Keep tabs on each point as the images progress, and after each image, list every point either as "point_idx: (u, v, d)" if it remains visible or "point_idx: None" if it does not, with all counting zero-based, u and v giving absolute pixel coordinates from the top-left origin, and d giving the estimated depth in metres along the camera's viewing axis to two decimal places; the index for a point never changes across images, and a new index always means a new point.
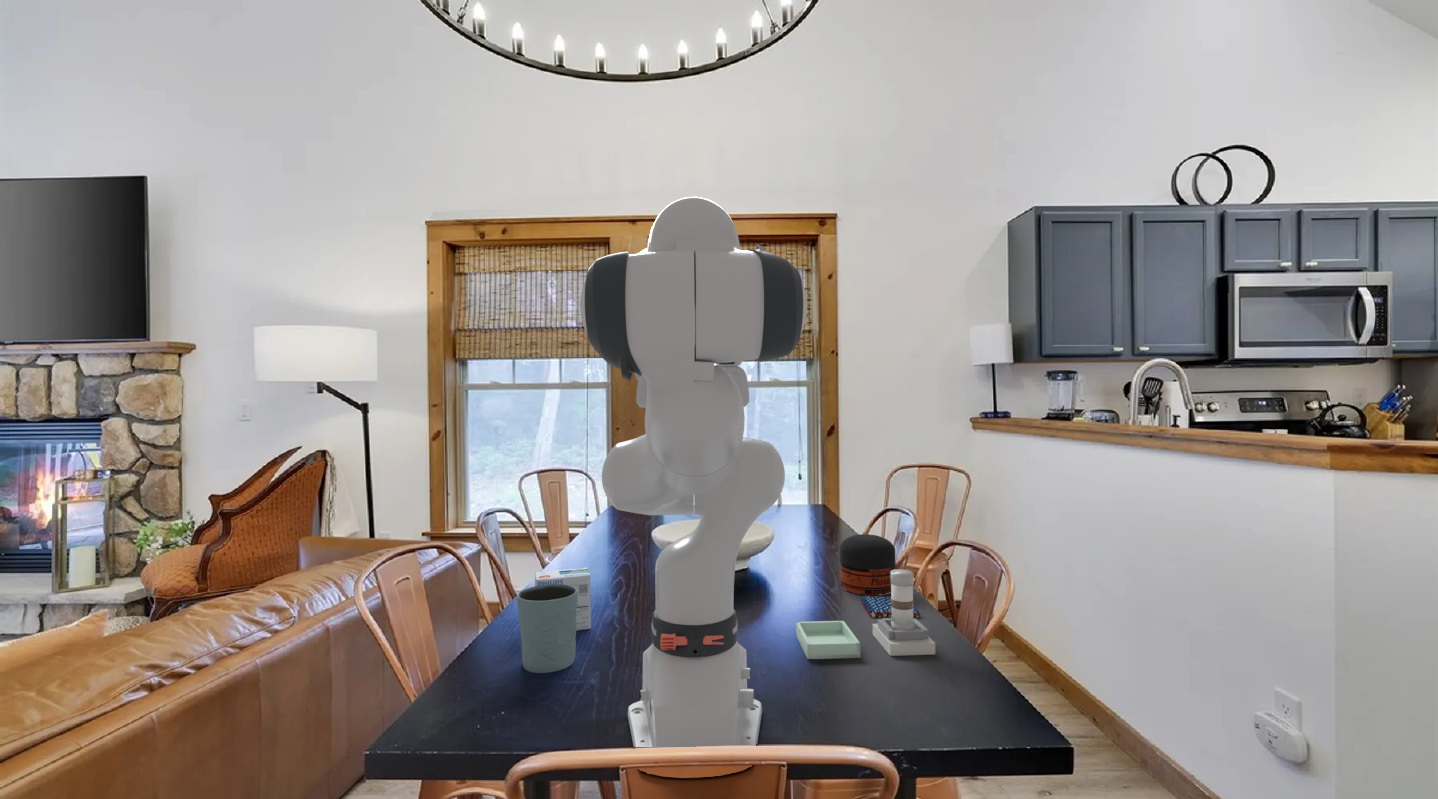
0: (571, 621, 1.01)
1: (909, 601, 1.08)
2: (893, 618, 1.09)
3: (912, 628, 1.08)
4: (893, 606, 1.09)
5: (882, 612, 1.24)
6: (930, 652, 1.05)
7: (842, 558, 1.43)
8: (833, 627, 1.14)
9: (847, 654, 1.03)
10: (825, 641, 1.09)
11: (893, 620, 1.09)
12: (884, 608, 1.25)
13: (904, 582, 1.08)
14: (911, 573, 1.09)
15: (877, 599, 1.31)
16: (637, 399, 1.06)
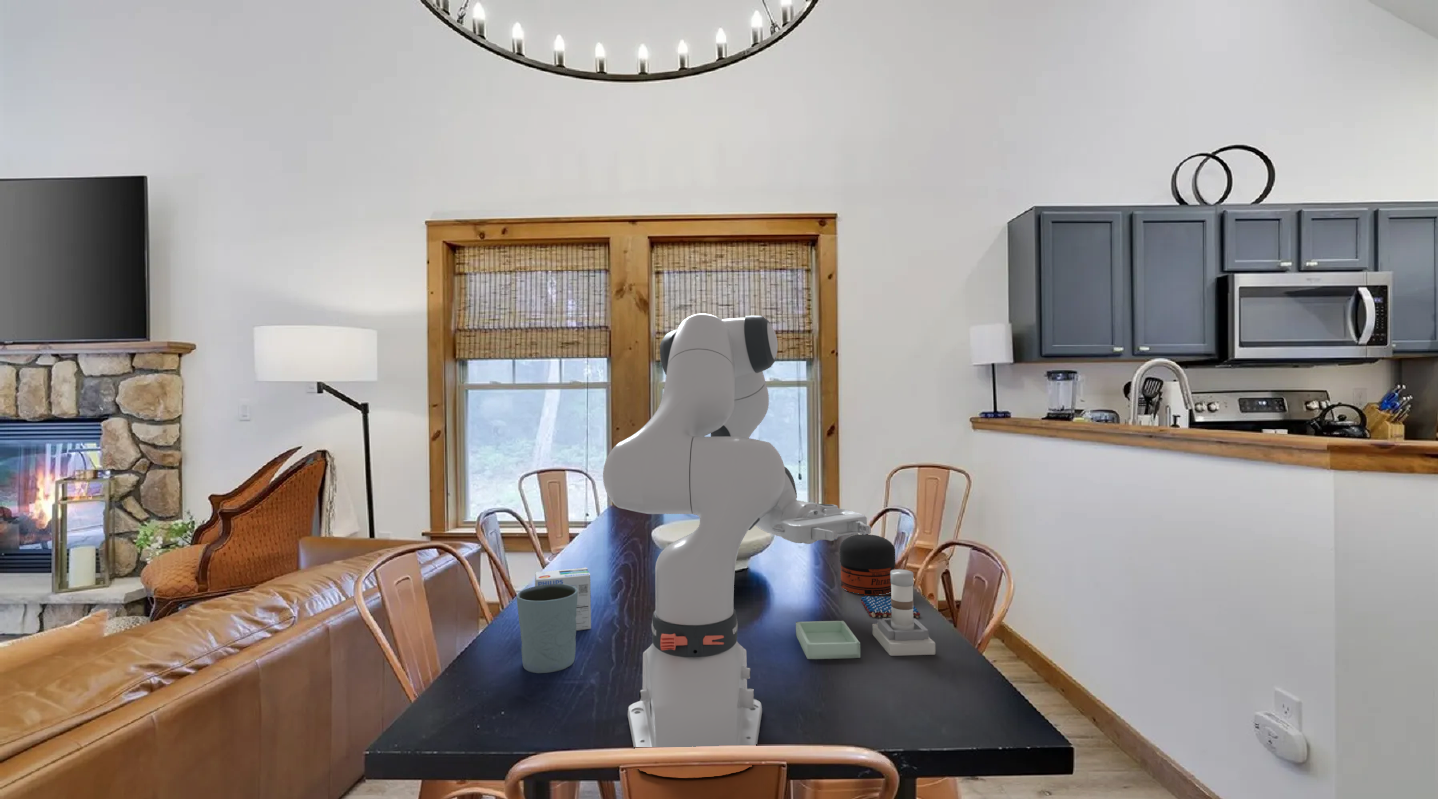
0: (571, 621, 1.01)
1: (909, 601, 1.08)
2: (893, 618, 1.09)
3: (912, 628, 1.08)
4: (893, 606, 1.09)
5: (882, 612, 1.24)
6: (930, 652, 1.05)
7: (842, 558, 1.43)
8: (833, 627, 1.14)
9: (847, 654, 1.03)
10: (825, 641, 1.09)
11: (893, 620, 1.09)
12: (884, 608, 1.25)
13: (904, 582, 1.08)
14: (911, 573, 1.09)
15: (877, 599, 1.31)
16: (794, 525, 1.20)
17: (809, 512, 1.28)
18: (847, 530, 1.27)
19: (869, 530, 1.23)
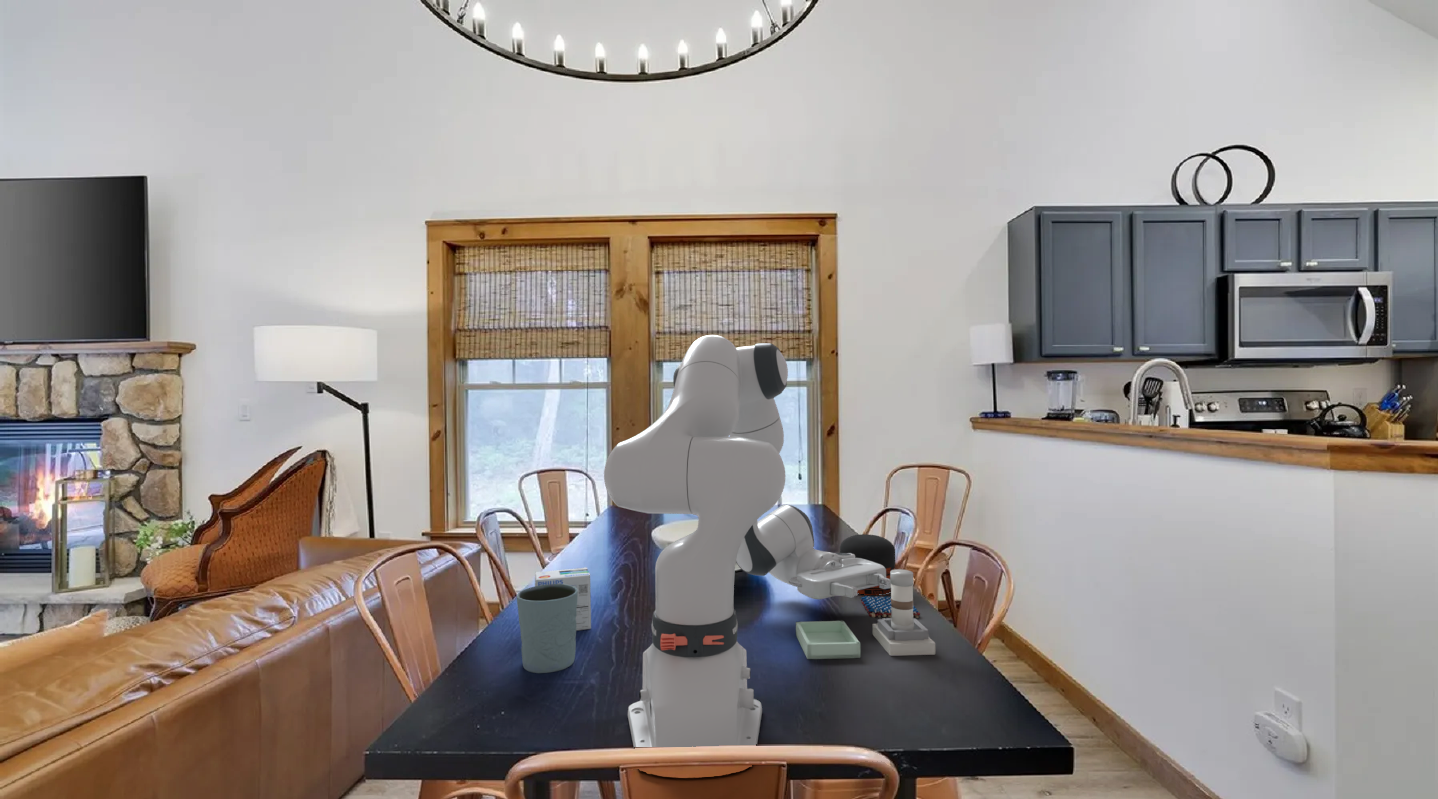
0: (571, 621, 1.01)
1: (909, 601, 1.08)
2: (893, 618, 1.09)
3: (912, 628, 1.08)
4: (893, 606, 1.09)
5: (882, 612, 1.24)
6: (930, 652, 1.05)
7: None
8: (833, 627, 1.14)
9: (847, 654, 1.03)
10: (825, 641, 1.09)
11: (893, 620, 1.09)
12: (884, 608, 1.25)
13: (904, 582, 1.08)
14: (911, 573, 1.09)
15: (877, 599, 1.31)
16: (812, 580, 1.15)
17: (826, 563, 1.24)
18: (866, 583, 1.22)
19: (889, 584, 1.18)
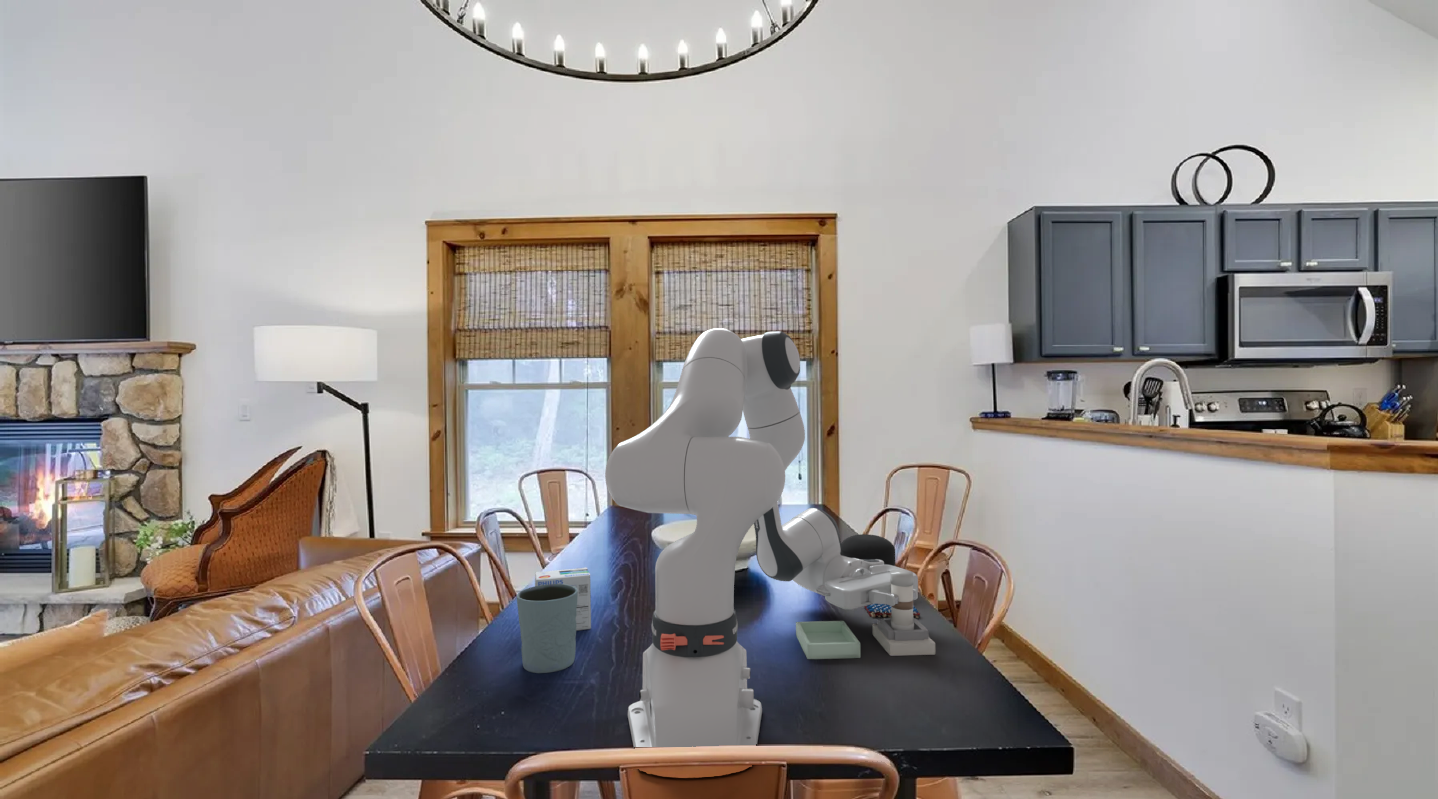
0: (571, 621, 1.01)
1: (909, 601, 1.08)
2: (893, 618, 1.09)
3: (912, 628, 1.08)
4: (893, 606, 1.09)
5: (882, 612, 1.24)
6: (930, 652, 1.05)
7: None
8: (833, 627, 1.14)
9: (847, 654, 1.03)
10: (825, 641, 1.09)
11: (893, 620, 1.09)
12: (884, 608, 1.25)
13: (904, 582, 1.08)
14: (911, 573, 1.09)
15: None
16: (842, 589, 1.09)
17: (855, 571, 1.17)
18: None
19: (916, 595, 1.11)
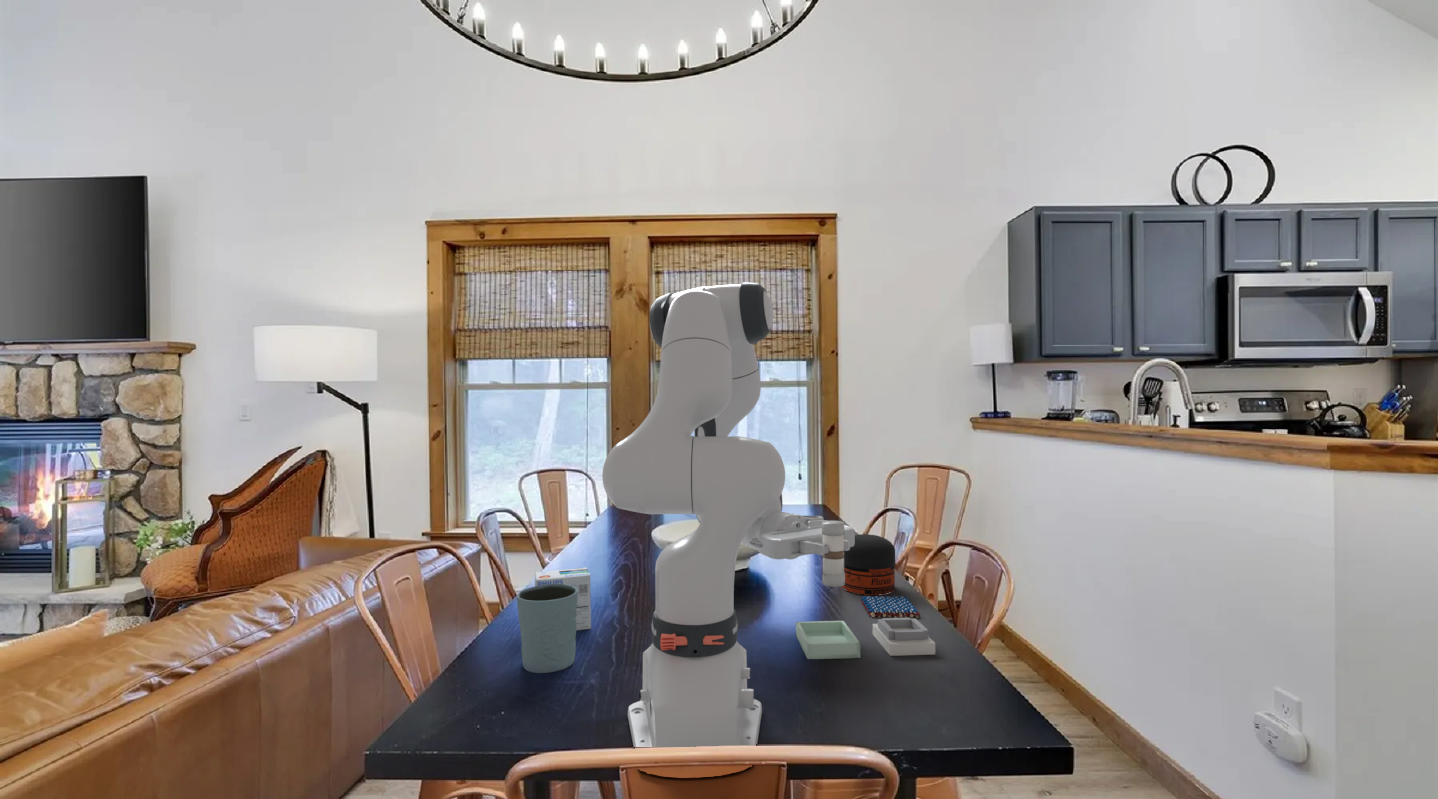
0: (571, 621, 1.01)
1: (839, 550, 1.07)
2: (824, 568, 1.08)
3: (842, 578, 1.07)
4: (824, 556, 1.08)
5: (882, 612, 1.24)
6: (930, 652, 1.05)
7: None
8: (833, 627, 1.14)
9: (847, 654, 1.03)
10: (825, 641, 1.09)
11: (824, 570, 1.08)
12: (884, 608, 1.25)
13: (834, 531, 1.07)
14: (842, 523, 1.08)
15: (877, 599, 1.31)
16: (772, 539, 1.08)
17: (791, 524, 1.16)
18: None
19: (848, 546, 1.10)
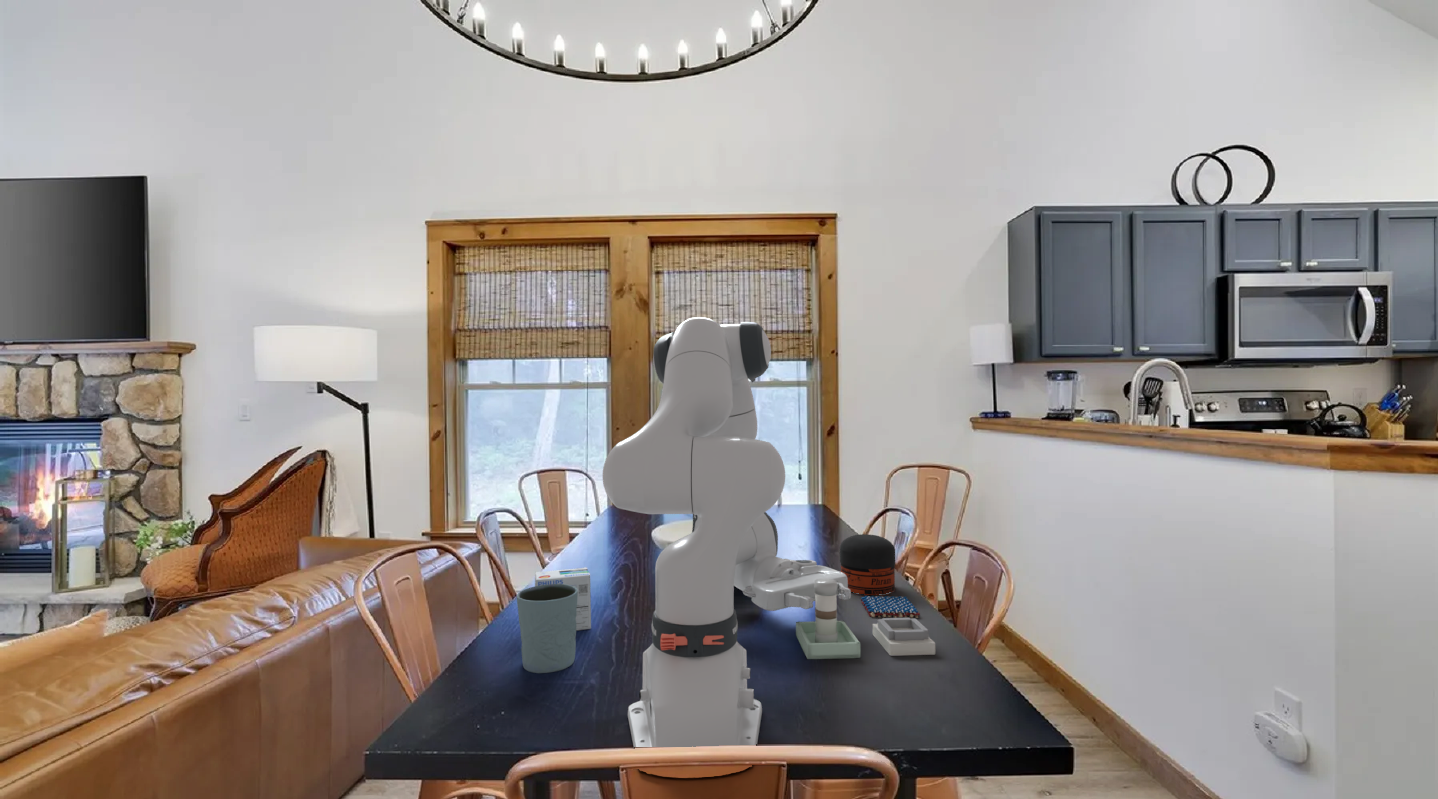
0: (571, 621, 1.01)
1: (832, 610, 1.07)
2: (816, 628, 1.08)
3: (835, 638, 1.07)
4: (816, 616, 1.08)
5: (881, 612, 1.24)
6: (930, 652, 1.05)
7: (842, 558, 1.43)
8: None
9: (847, 654, 1.03)
10: None
11: (816, 630, 1.08)
12: (884, 608, 1.25)
13: (827, 591, 1.07)
14: (834, 583, 1.08)
15: (877, 599, 1.31)
16: (765, 591, 1.08)
17: (784, 572, 1.16)
18: None
19: (849, 594, 1.11)
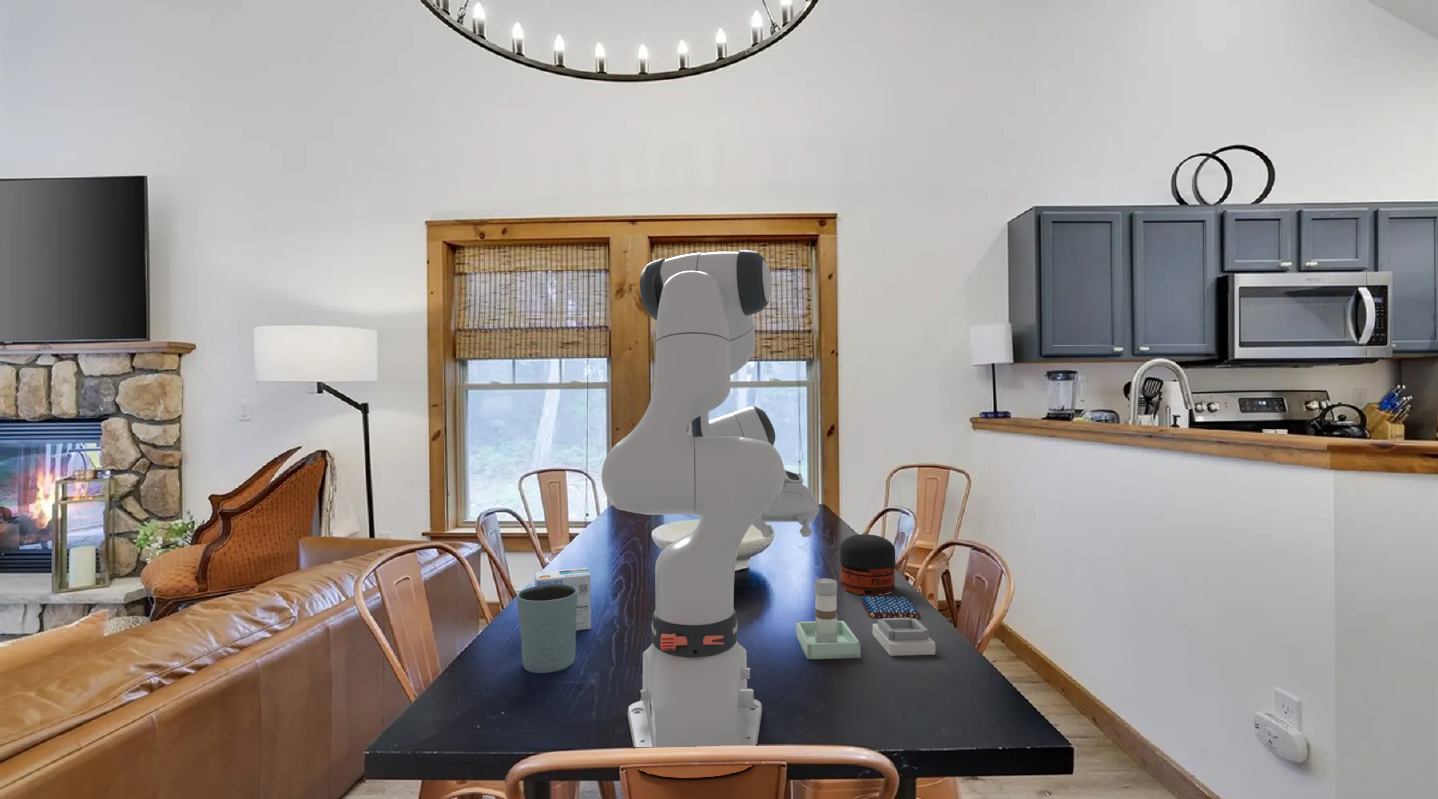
0: (571, 621, 1.01)
1: (832, 610, 1.07)
2: (816, 628, 1.08)
3: (835, 638, 1.07)
4: (816, 615, 1.08)
5: (881, 612, 1.24)
6: (930, 652, 1.05)
7: (842, 558, 1.43)
8: None
9: (847, 654, 1.03)
10: None
11: (816, 630, 1.08)
12: (883, 608, 1.25)
13: (827, 591, 1.07)
14: (834, 583, 1.08)
15: (877, 599, 1.31)
16: None
17: None
18: (793, 517, 1.26)
19: (808, 535, 1.22)
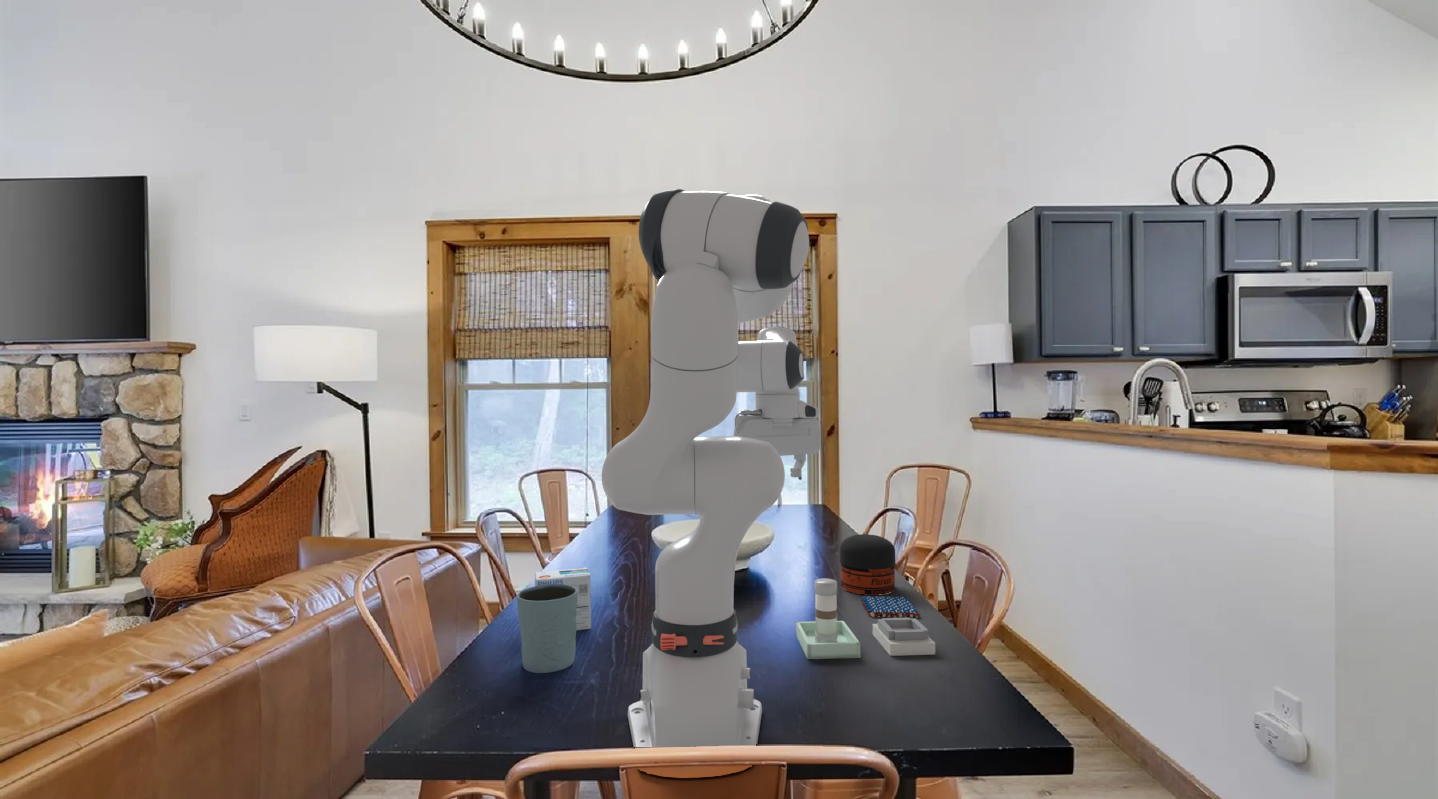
0: (571, 621, 1.01)
1: (832, 610, 1.07)
2: (816, 628, 1.08)
3: (835, 638, 1.07)
4: (816, 615, 1.08)
5: (881, 612, 1.24)
6: (930, 652, 1.05)
7: (842, 558, 1.43)
8: None
9: (847, 654, 1.03)
10: None
11: (816, 630, 1.08)
12: (883, 608, 1.25)
13: (827, 591, 1.07)
14: (834, 583, 1.08)
15: (877, 599, 1.32)
16: None
17: (780, 425, 1.17)
18: None
19: None
